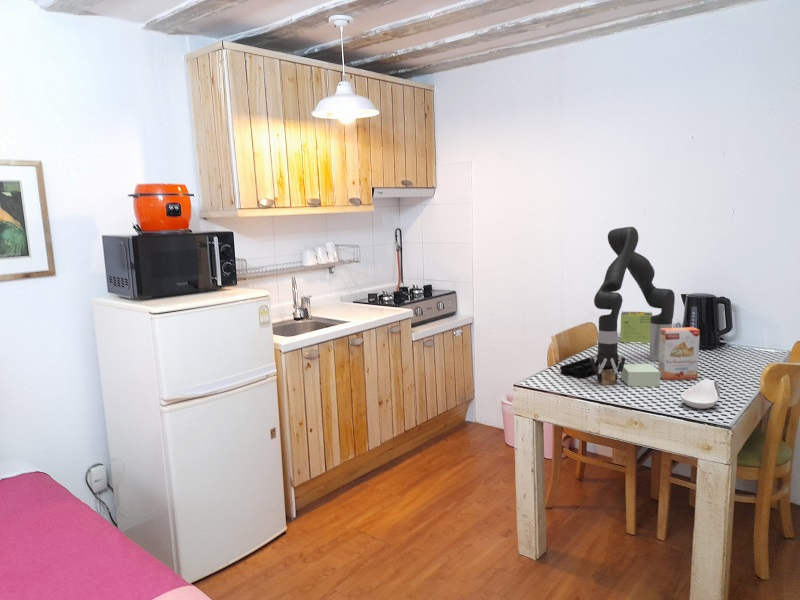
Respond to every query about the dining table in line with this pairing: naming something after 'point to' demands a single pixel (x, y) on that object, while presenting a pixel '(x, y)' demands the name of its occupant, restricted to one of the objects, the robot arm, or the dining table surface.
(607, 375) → the walnut cube
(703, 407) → the spoon rest
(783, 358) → the dining table surface
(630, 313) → the protein box
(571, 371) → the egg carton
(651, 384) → the stacking base
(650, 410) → the dining table surface
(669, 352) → the cracker box
